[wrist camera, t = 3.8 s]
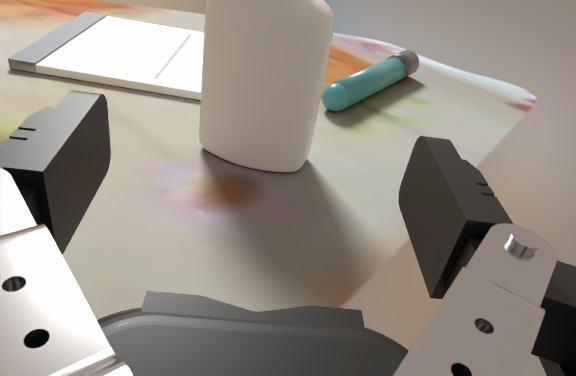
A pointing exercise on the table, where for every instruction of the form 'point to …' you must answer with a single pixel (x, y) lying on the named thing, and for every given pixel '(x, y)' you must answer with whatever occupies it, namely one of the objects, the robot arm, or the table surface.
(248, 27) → the white tapered bottle shape
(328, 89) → the marker
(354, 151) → the table surface
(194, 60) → the notepad
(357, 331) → the robot arm
